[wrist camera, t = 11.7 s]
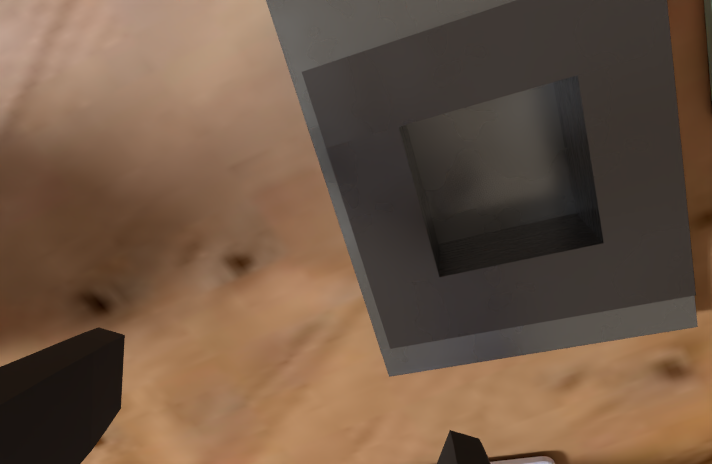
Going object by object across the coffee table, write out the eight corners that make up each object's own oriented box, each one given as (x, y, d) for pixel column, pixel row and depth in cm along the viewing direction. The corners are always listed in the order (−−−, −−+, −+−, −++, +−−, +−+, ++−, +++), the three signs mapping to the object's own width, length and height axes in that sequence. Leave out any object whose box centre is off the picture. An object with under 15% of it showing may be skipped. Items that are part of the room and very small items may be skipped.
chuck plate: (684, 313, 19) (747, 376, 15) (391, 363, 22) (382, 426, 18) (634, -152, 14) (706, -227, 10) (270, -12, 17) (225, -32, 13)
